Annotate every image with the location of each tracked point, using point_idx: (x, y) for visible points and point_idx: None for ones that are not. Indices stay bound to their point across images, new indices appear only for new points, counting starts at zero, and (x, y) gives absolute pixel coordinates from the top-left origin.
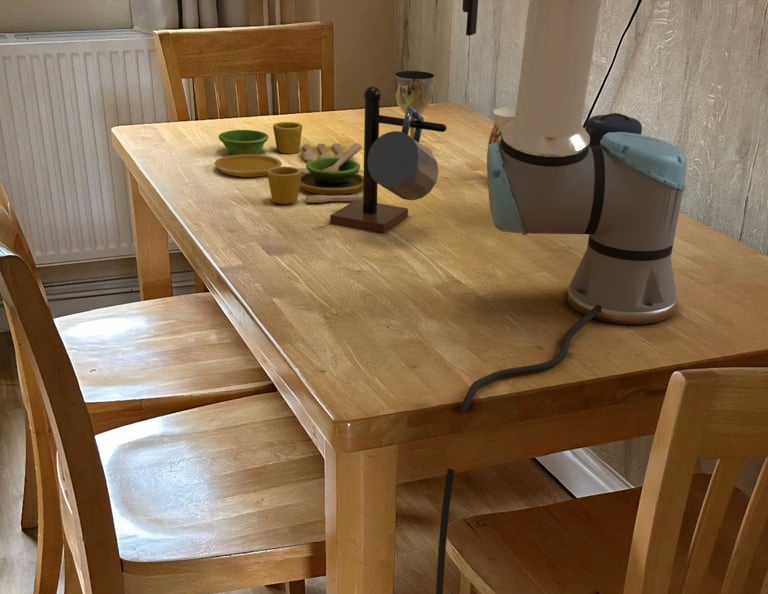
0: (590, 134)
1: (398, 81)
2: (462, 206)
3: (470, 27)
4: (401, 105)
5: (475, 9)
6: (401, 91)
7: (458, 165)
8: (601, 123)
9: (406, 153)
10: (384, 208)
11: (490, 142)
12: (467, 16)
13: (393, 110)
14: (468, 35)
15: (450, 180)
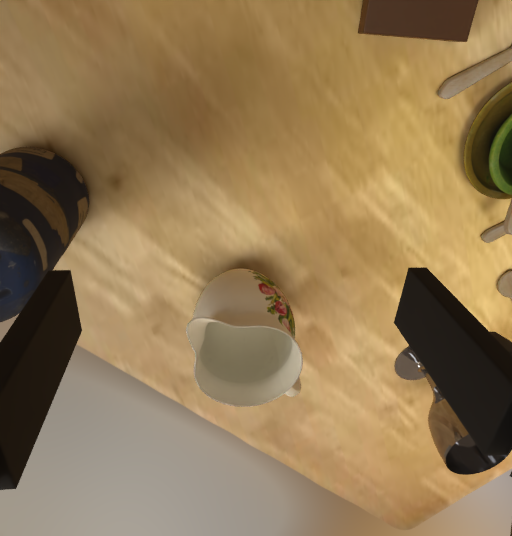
0: (3, 210)
1: None
2: (281, 145)
3: (424, 283)
4: None
5: (445, 363)
6: None
7: (340, 335)
8: None
9: None
10: (406, 7)
11: (287, 307)
12: (464, 308)
13: (467, 486)
14: (416, 268)
15: (334, 266)
